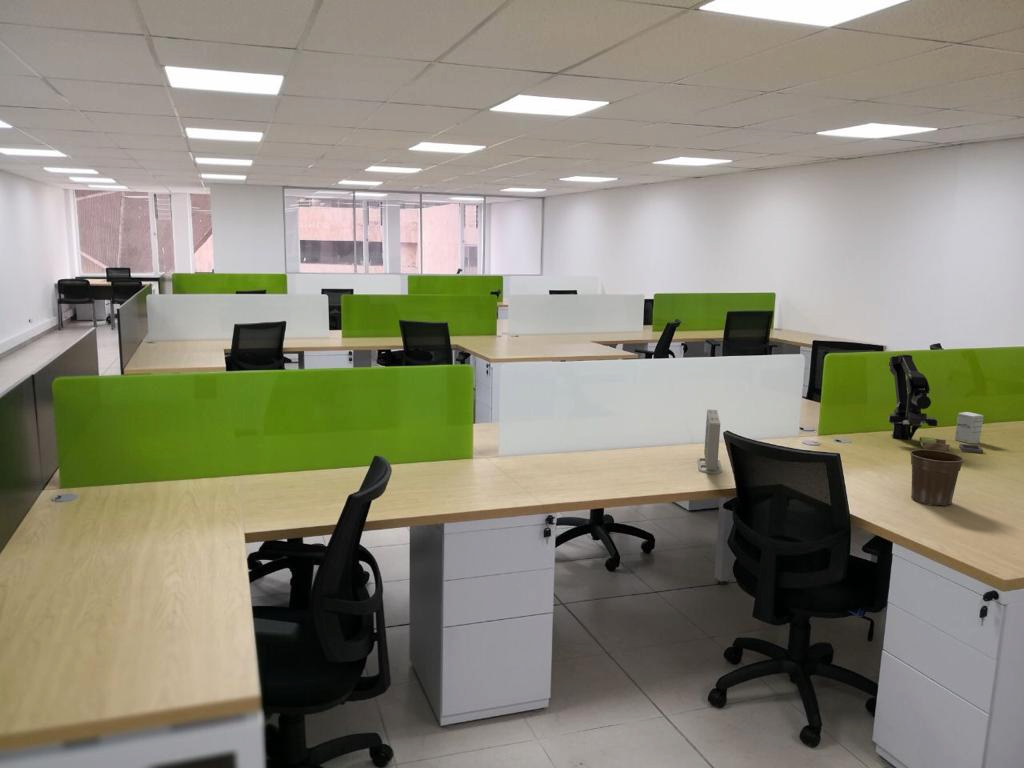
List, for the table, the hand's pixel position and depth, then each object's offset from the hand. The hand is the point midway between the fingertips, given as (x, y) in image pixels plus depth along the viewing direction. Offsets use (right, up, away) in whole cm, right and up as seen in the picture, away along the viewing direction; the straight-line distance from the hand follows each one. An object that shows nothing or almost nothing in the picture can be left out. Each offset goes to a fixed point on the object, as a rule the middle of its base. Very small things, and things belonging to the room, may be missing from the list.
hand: (910, 439), depth 342 cm
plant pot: (-32, -16, -76) cm, 84 cm away
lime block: (+7, -3, -2) cm, 8 cm away
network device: (-98, -8, -40) cm, 107 cm away
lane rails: (+9, -3, -3) cm, 10 cm away
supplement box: (+30, -2, +9) cm, 31 cm away
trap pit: (+22, -4, -7) cm, 24 cm away
